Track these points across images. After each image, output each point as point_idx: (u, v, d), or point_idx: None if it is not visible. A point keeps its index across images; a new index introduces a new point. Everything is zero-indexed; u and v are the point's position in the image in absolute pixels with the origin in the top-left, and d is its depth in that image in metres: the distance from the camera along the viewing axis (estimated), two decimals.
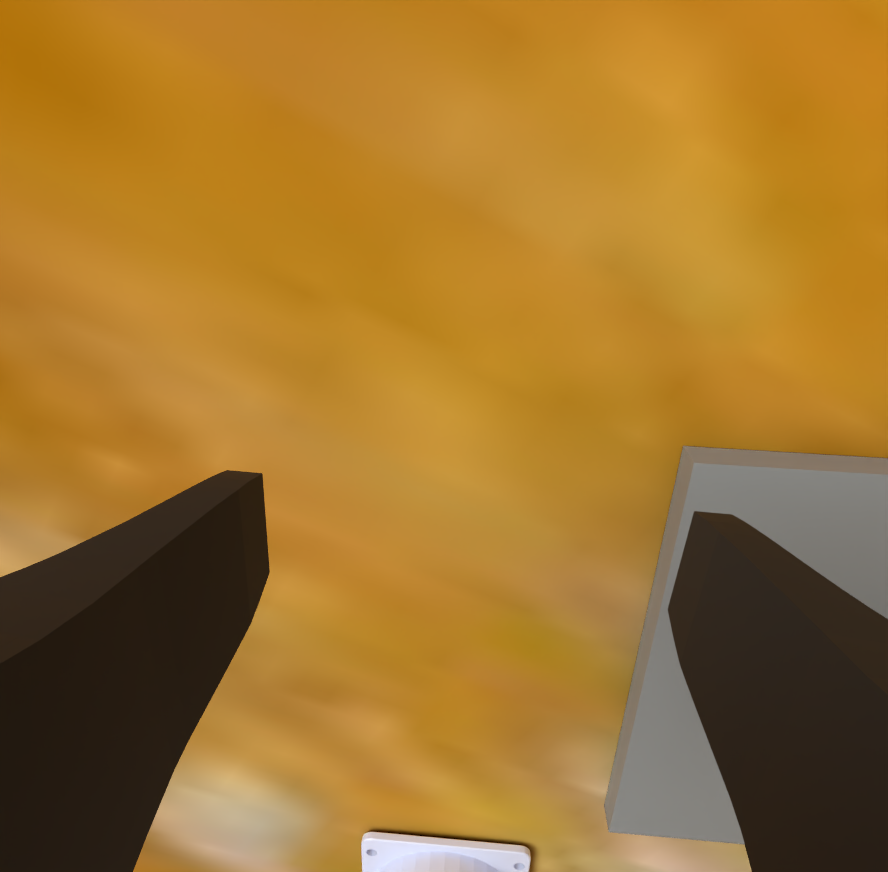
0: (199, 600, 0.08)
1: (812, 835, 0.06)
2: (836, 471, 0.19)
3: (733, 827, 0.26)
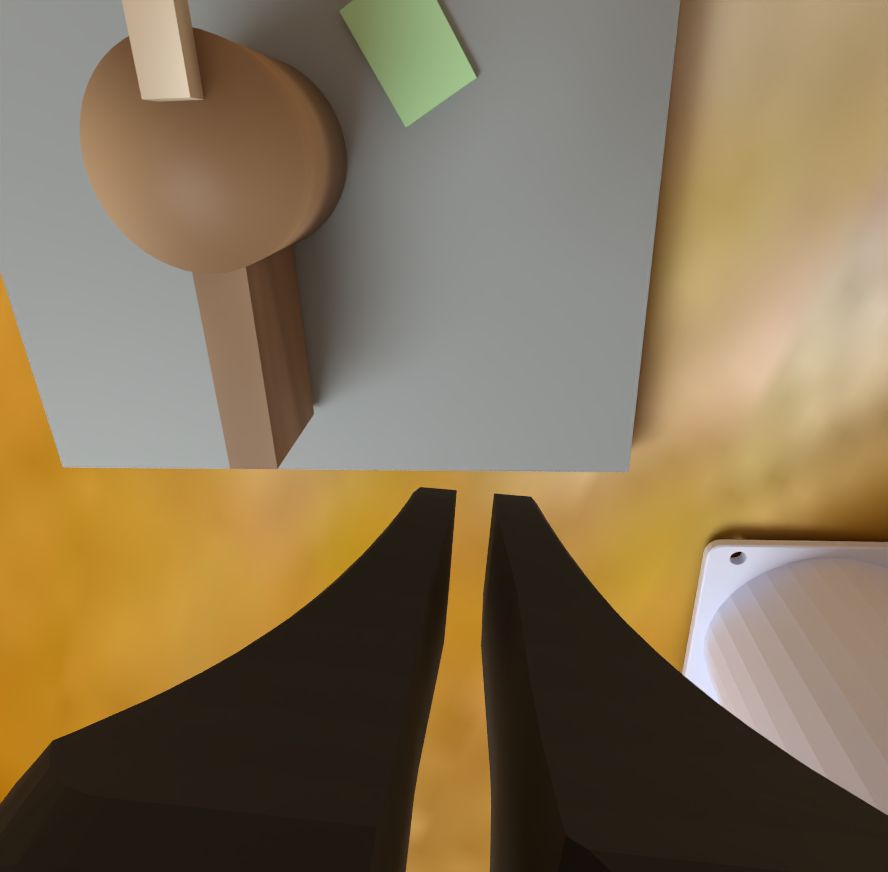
0: (434, 622, 0.08)
1: (504, 803, 0.07)
2: None
3: (607, 307, 0.17)
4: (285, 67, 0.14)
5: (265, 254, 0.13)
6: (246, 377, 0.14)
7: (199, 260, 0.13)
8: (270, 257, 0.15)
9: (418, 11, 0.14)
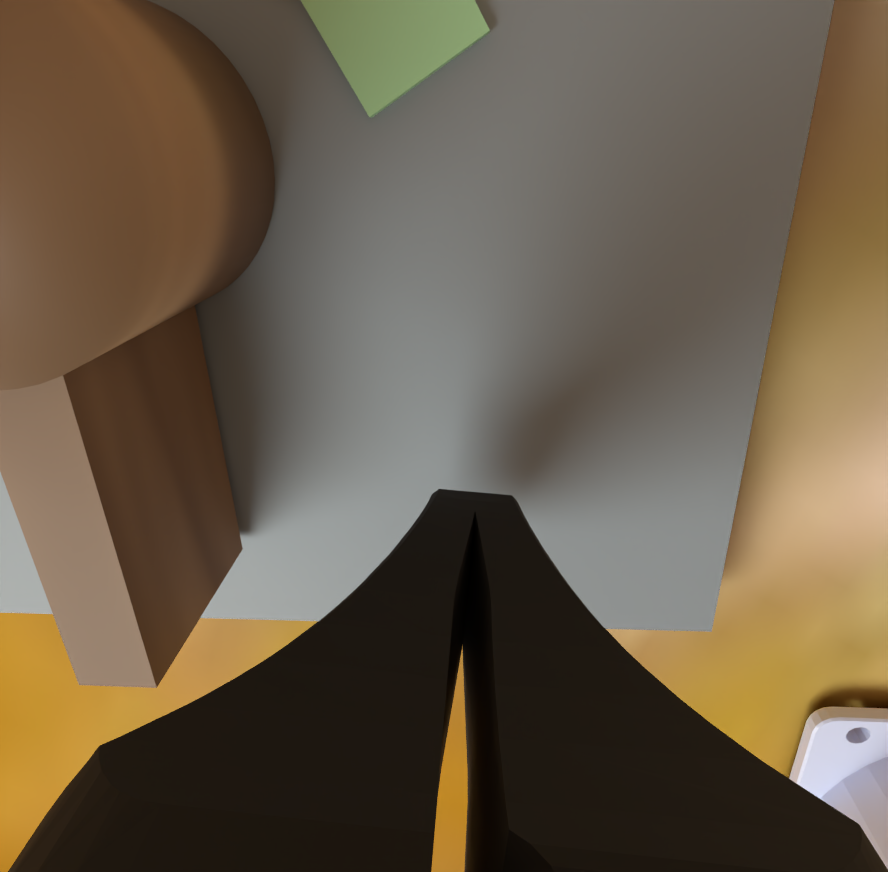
0: (458, 625, 0.08)
1: (475, 800, 0.07)
2: None
3: (693, 401, 0.11)
4: (140, 4, 0.07)
5: (88, 357, 0.07)
6: (88, 552, 0.08)
7: None
8: (136, 339, 0.09)
9: None
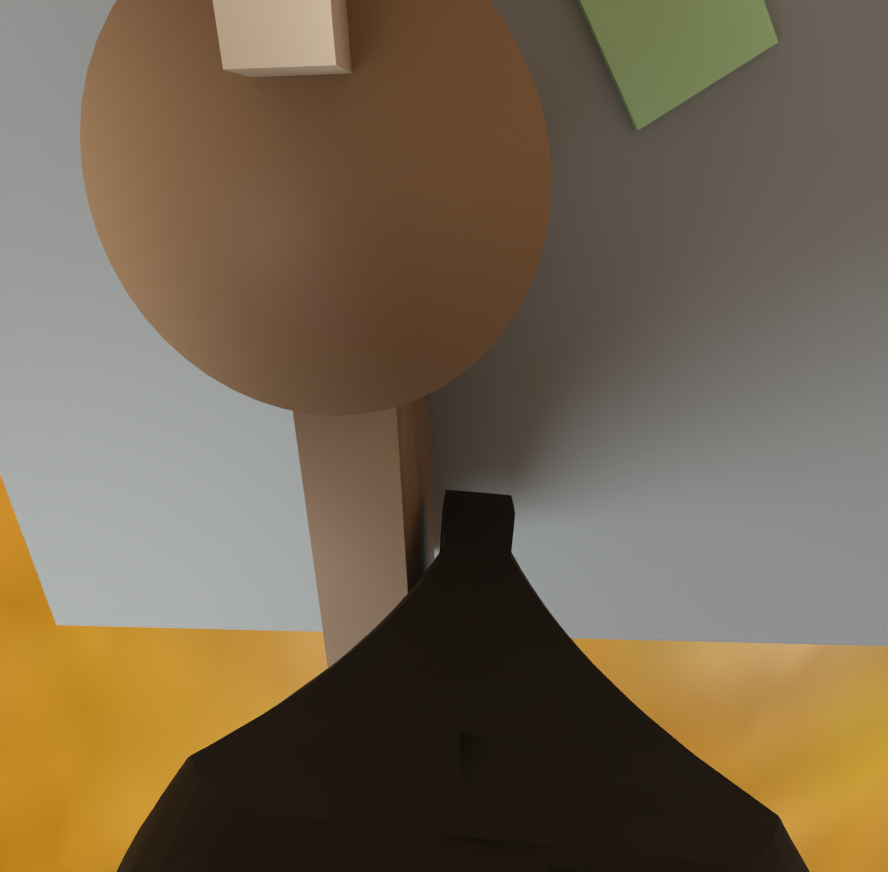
0: None
1: None
2: None
3: None
4: None
5: (445, 382, 0.07)
6: (376, 576, 0.08)
7: (313, 391, 0.07)
8: None
9: None
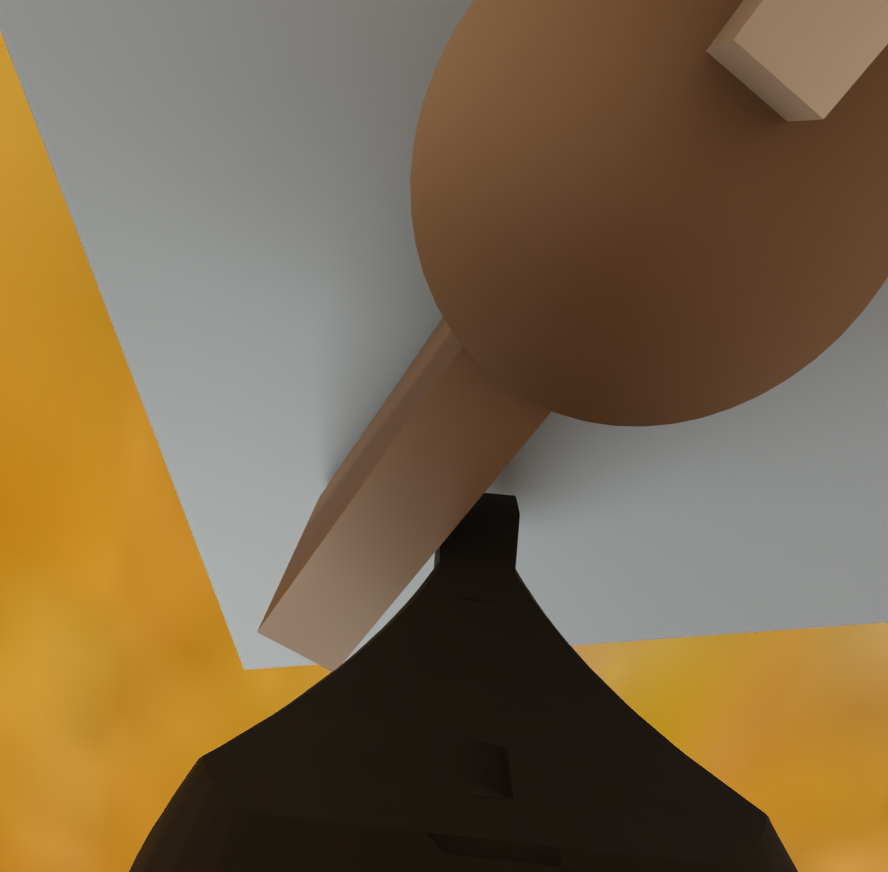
0: None
1: None
2: (181, 503, 0.12)
3: None
4: None
5: (625, 423, 0.06)
6: (403, 541, 0.08)
7: (508, 355, 0.06)
8: None
9: None
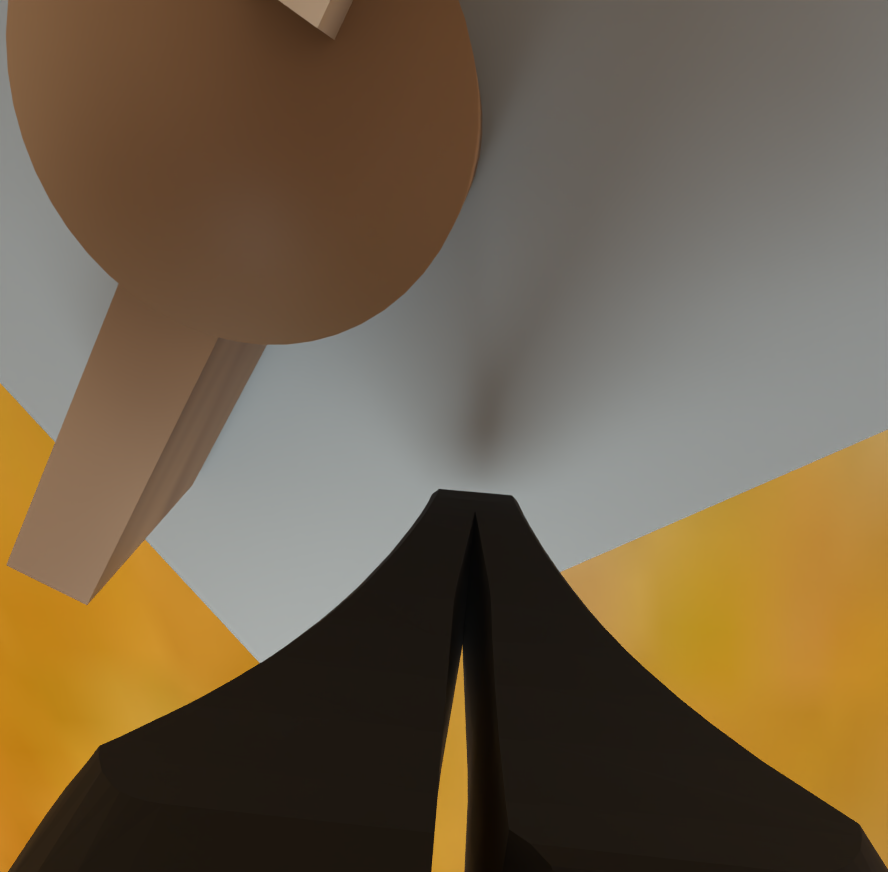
0: (458, 624, 0.08)
1: (475, 800, 0.07)
2: (163, 558, 0.13)
3: None
4: None
5: (271, 342, 0.07)
6: (117, 470, 0.08)
7: (147, 278, 0.07)
8: None
9: None
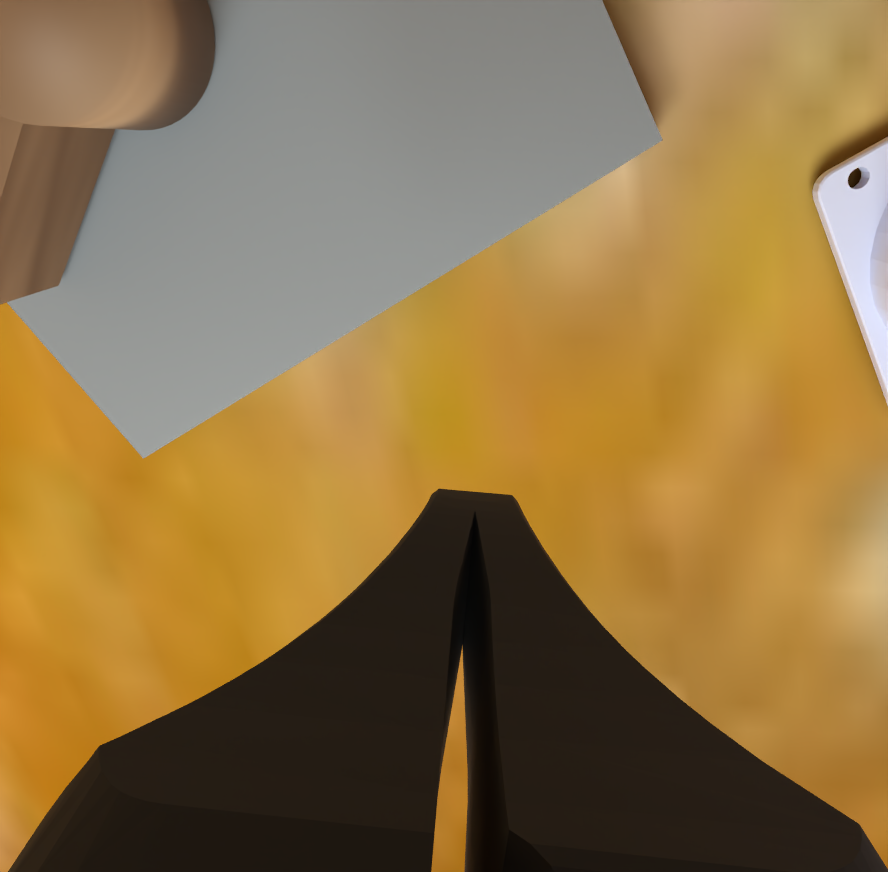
0: (458, 624, 0.08)
1: (475, 800, 0.07)
2: (48, 348, 0.19)
3: None
4: None
5: (44, 124, 0.13)
6: None
7: None
8: (70, 126, 0.14)
9: None
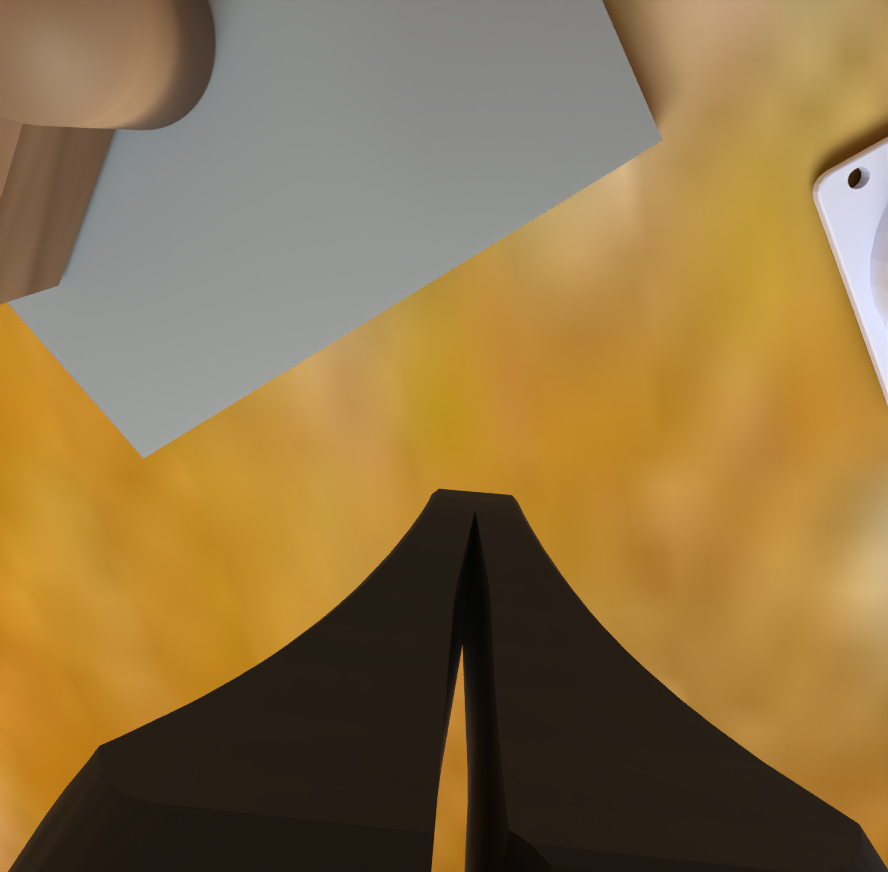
0: (458, 624, 0.08)
1: (475, 800, 0.07)
2: (48, 348, 0.19)
3: None
4: None
5: (44, 124, 0.13)
6: None
7: None
8: (70, 126, 0.14)
9: None
